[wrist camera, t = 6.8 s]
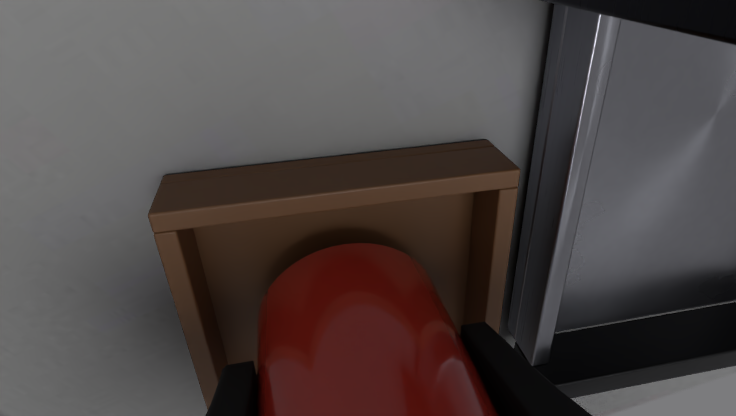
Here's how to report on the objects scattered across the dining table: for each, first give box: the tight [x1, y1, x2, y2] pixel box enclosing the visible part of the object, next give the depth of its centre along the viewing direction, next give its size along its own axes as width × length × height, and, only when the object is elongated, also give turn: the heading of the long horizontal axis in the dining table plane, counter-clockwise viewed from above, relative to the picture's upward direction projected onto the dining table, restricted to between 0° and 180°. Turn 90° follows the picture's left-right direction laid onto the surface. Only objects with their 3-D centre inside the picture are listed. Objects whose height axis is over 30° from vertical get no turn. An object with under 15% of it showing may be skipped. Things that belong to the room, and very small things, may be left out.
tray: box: [148, 140, 520, 409], centre depth 14 cm, size 8×8×2 cm
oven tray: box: [508, 4, 736, 398], centre depth 13 cm, size 16×10×3 cm, turn 2°
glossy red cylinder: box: [256, 243, 499, 416], centre depth 11 cm, size 5×5×6 cm
